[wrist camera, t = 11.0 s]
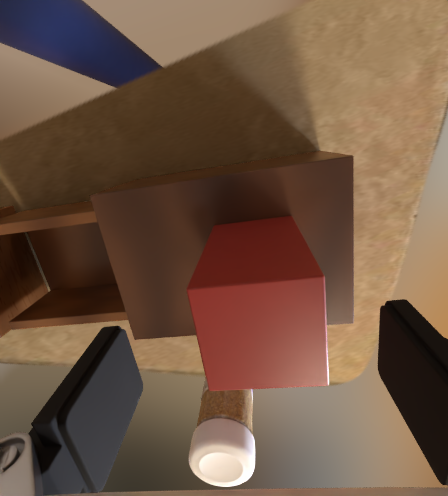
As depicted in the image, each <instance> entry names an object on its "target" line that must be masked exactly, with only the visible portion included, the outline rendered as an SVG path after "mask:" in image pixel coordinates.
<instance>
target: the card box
mask: <svg viewBox="0 0 448 496" xmlns="http://www.w3.org/2000/svg"><path fill="white" fill-rule="evenodd" d="M186 291H187V295H188V299H189V304H190V308H191V313H192V317H193V322H194V326H195V331H196V335H197V340H198V344H199V348H200V353H201V357H202V362H203V366H204V371H205V375H206V380H207V384H208V389H209V391H222V390H243V389H265V388H284V387H285V388H286V387H307V386H327V385H329V371H328V345H327V319H326V294H325V276H324V274H323V272H322V270H321V269H320V267H319V265H318V263H317V261H316V259H315V257H314V256H313V254H312V252H311V250H310V248H309V246H308V245H307V243H306V241H305V239H304V237H303V235H302V234H301V232H300V230H299V228H298V226H297V224H296V223H295V221H294V219H293V217H292V216H285V217H277V218H269V219H261V220H254V221H246V222H238V223H230V224H222V225H215V226H214V227H213V229H212V231H211V233H210V236H209V238H208V240H207V243H206V245H205V247H204V250H203V252H202V254H201V257H200V259H199V261H198V263H197V266H196V268H195V270H194V273H193V275H192V277H191V280H190V282H189V284H188V287H187V289H186Z"/></svg>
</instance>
